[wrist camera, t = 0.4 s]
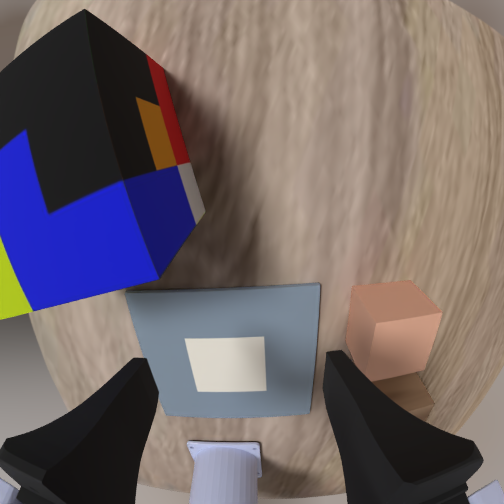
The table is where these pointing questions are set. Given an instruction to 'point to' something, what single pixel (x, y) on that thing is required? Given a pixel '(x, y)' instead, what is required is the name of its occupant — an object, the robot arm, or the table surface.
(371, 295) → the terracotta block
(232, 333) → the plate
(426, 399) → the walnut block
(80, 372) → the table surface
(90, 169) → the puzzle toy
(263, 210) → the table surface
